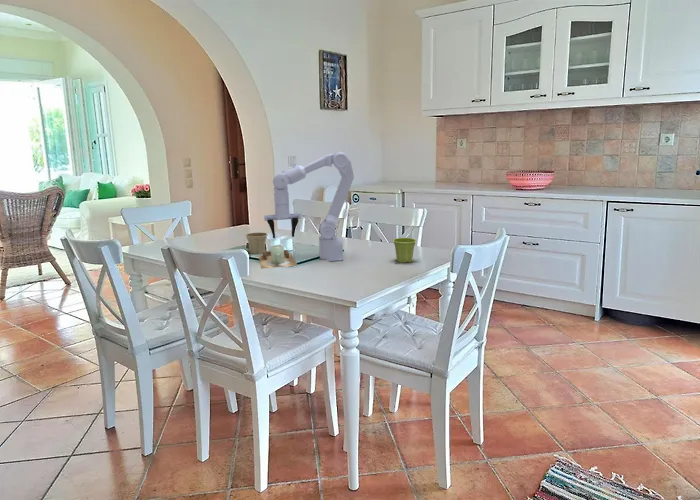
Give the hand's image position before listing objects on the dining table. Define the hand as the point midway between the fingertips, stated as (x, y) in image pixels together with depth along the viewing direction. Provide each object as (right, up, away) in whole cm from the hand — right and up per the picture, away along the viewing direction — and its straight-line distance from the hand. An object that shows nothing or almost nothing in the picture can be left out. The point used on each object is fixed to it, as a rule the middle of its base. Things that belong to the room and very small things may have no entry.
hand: (283, 237), depth 210 cm
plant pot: (+49, -10, -2) cm, 50 cm away
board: (-3, -10, 0) cm, 11 cm away
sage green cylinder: (-1, -10, -6) cm, 12 cm away
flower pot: (-13, -7, +15) cm, 22 cm away
